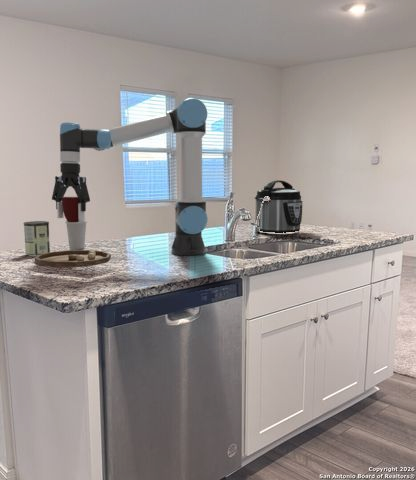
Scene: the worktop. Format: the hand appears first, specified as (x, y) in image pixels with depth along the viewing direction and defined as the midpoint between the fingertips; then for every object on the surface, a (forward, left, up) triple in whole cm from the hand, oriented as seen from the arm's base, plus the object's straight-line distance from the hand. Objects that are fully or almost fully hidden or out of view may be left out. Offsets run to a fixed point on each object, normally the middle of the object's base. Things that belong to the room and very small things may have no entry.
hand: (70, 218), depth 191 cm
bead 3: (-11, +2, -16) cm, 20 cm away
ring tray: (-4, +4, -17) cm, 18 cm away
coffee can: (+23, -4, -17) cm, 29 cm away
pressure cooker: (-47, -128, -17) cm, 138 cm away
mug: (0, 0, -1) cm, 1 cm away
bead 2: (-8, -3, -16) cm, 18 cm away
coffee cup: (+15, -20, -17) cm, 30 cm away
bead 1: (-11, +8, -16) cm, 21 cm away
